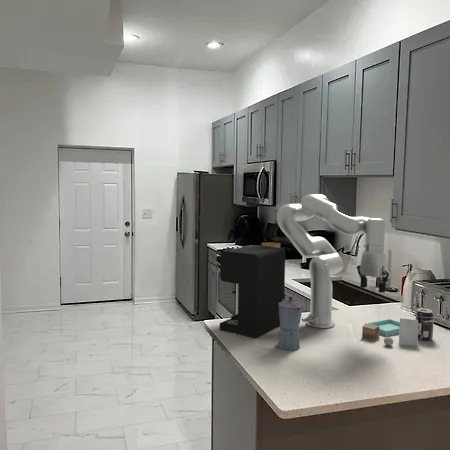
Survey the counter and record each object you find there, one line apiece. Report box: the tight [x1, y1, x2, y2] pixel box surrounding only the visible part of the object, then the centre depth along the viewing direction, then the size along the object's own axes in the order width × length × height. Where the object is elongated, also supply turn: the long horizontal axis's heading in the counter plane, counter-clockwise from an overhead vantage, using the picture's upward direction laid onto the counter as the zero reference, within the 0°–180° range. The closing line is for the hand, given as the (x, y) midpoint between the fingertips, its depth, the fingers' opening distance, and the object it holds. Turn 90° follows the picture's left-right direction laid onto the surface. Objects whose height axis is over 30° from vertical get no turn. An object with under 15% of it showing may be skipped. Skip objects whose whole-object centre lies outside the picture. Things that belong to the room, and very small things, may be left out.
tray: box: [364, 318, 400, 338], centre depth 201 cm, size 16×12×2 cm
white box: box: [398, 317, 419, 347], centre depth 184 cm, size 4×7×10 cm, turn 71°
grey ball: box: [383, 336, 394, 347], centre depth 181 cm, size 4×4×4 cm
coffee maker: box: [219, 244, 287, 340], centre depth 203 cm, size 28×20×35 cm
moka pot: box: [277, 296, 304, 352], centre depth 178 cm, size 10×15×20 cm, turn 27°
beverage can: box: [415, 308, 435, 341], centre depth 190 cm, size 7×7×12 cm
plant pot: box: [261, 242, 281, 248], centre depth 369 cm, size 15×15×16 cm
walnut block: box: [361, 324, 380, 342], centre depth 190 cm, size 5×5×5 cm
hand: (372, 289), depth 189 cm, fingers open, 9 cm apart
